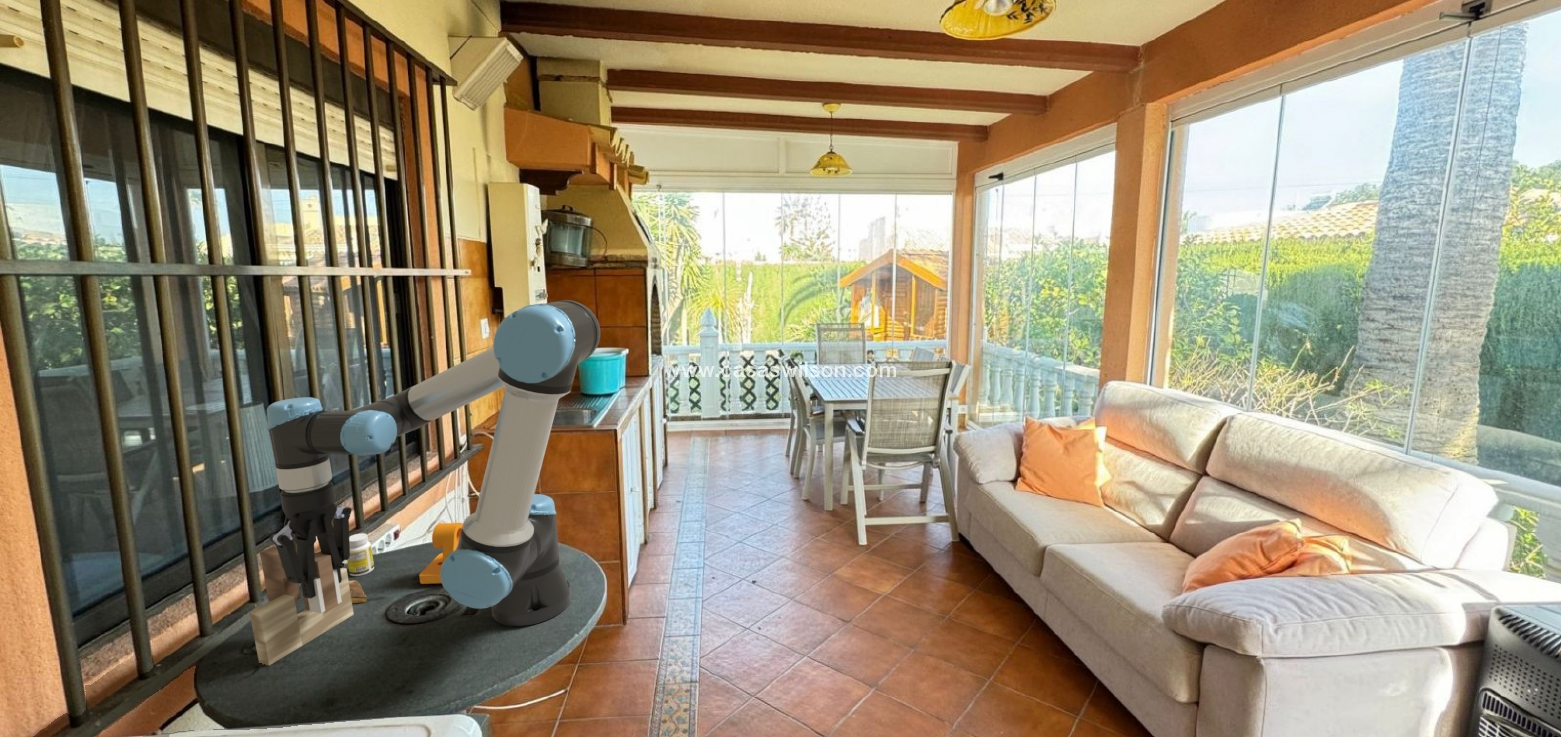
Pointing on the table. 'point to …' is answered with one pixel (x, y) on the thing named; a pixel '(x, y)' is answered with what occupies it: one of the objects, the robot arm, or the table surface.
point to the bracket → (448, 540)
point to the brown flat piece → (356, 592)
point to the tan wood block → (281, 586)
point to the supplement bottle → (360, 555)
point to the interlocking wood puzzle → (294, 624)
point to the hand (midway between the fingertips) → (326, 606)
